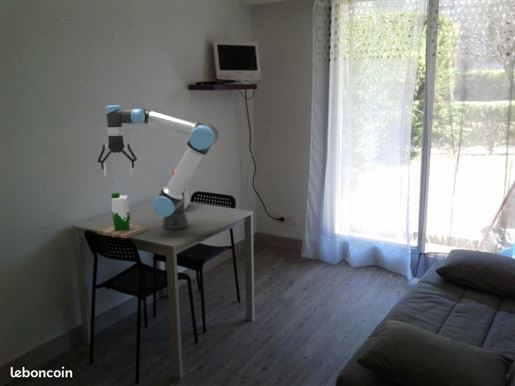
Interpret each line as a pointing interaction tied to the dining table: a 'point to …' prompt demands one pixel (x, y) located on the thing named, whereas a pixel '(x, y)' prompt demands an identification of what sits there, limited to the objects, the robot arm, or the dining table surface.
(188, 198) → the game box
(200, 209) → the dining table surface
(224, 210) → the dining table surface
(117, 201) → the soya milk
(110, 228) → the wooden cutting board
